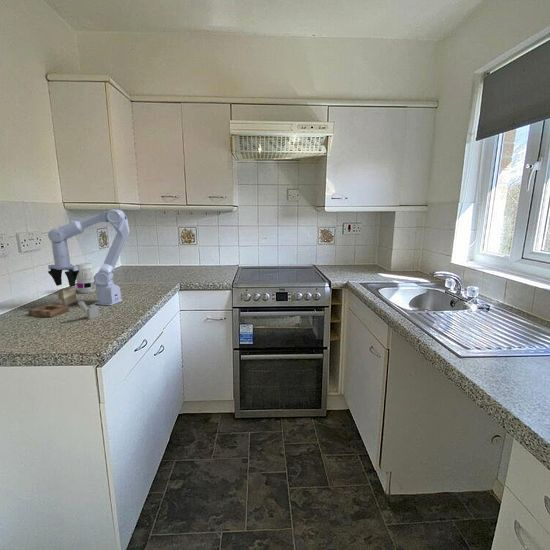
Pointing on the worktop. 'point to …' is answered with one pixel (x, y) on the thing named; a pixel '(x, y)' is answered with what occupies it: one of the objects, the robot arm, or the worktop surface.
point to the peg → (67, 296)
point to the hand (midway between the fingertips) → (65, 285)
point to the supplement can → (85, 278)
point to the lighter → (90, 310)
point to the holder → (48, 310)
